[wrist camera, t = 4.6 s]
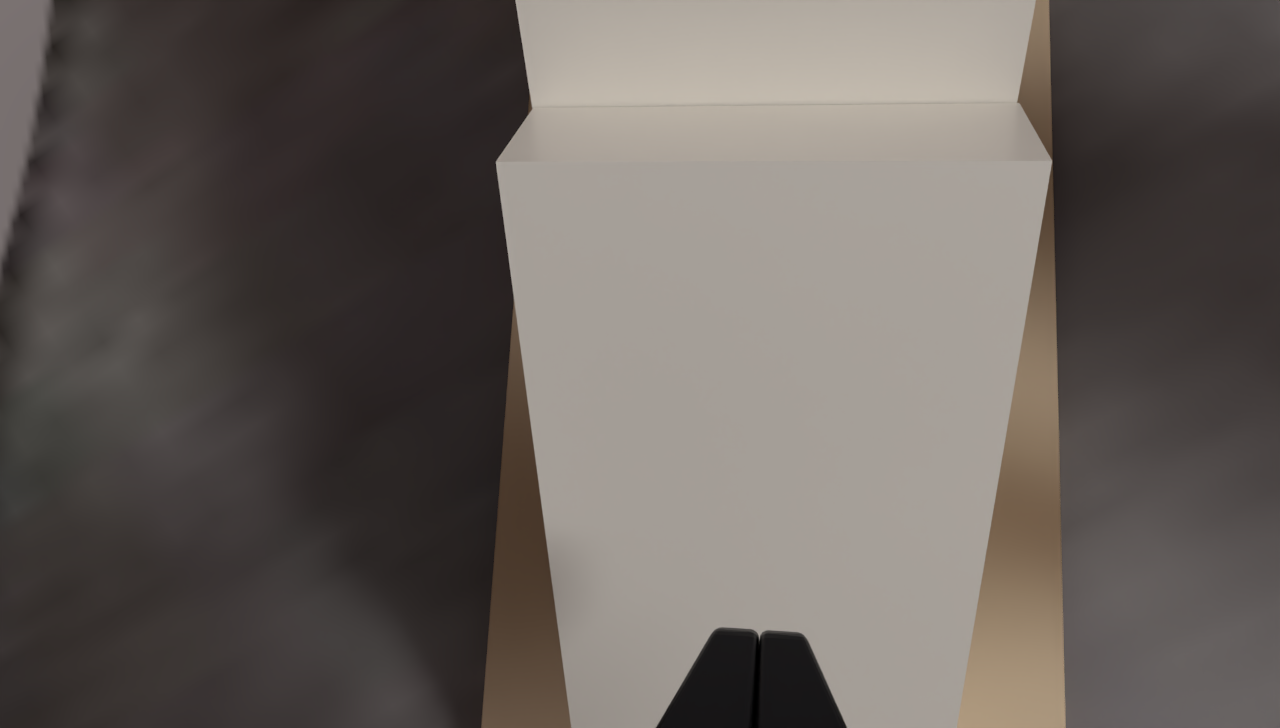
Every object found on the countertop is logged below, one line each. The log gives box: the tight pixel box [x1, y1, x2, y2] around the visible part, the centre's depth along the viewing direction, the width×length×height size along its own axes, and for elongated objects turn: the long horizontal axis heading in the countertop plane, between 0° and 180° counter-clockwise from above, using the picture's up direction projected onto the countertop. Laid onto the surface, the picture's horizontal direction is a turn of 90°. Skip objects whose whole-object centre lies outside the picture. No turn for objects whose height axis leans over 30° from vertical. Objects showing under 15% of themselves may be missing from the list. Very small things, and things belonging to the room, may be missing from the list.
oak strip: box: [481, 0, 1065, 728], centre depth 18 cm, size 28×9×1 cm, turn 177°
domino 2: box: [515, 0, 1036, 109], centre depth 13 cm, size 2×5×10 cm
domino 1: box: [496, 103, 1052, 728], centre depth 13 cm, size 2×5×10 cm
